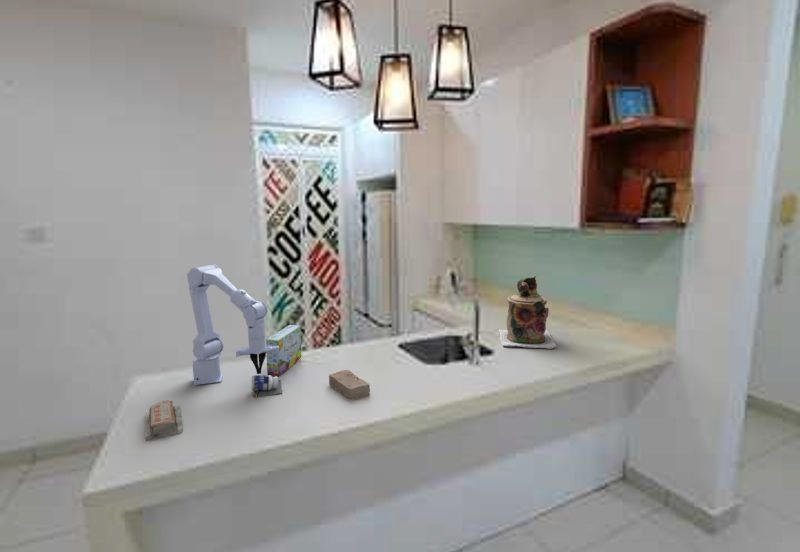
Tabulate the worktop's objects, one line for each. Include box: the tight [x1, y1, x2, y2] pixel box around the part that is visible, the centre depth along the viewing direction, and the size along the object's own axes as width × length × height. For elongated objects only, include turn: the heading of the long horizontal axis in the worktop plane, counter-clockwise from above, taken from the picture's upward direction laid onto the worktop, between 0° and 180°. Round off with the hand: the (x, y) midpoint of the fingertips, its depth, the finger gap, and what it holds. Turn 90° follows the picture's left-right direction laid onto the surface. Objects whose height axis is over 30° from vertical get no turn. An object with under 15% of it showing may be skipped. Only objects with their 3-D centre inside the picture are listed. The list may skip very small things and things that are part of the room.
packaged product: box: [144, 399, 184, 442], centre depth 139 cm, size 18×5×10 cm
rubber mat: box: [258, 379, 283, 398], centre depth 165 cm, size 8×12×1 cm, turn 17°
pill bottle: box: [251, 374, 279, 392], centre depth 162 cm, size 5×5×9 cm
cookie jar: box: [498, 274, 557, 350], centre depth 215 cm, size 25×25×32 cm
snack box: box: [265, 324, 302, 378], centre depth 184 cm, size 21×6×15 cm, turn 168°
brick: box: [328, 369, 371, 401], centre depth 163 cm, size 17×8×5 cm, turn 37°
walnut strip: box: [253, 390, 258, 398], centre depth 163 cm, size 1×12×1 cm, turn 17°
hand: (259, 372), depth 162 cm, fingers closed
